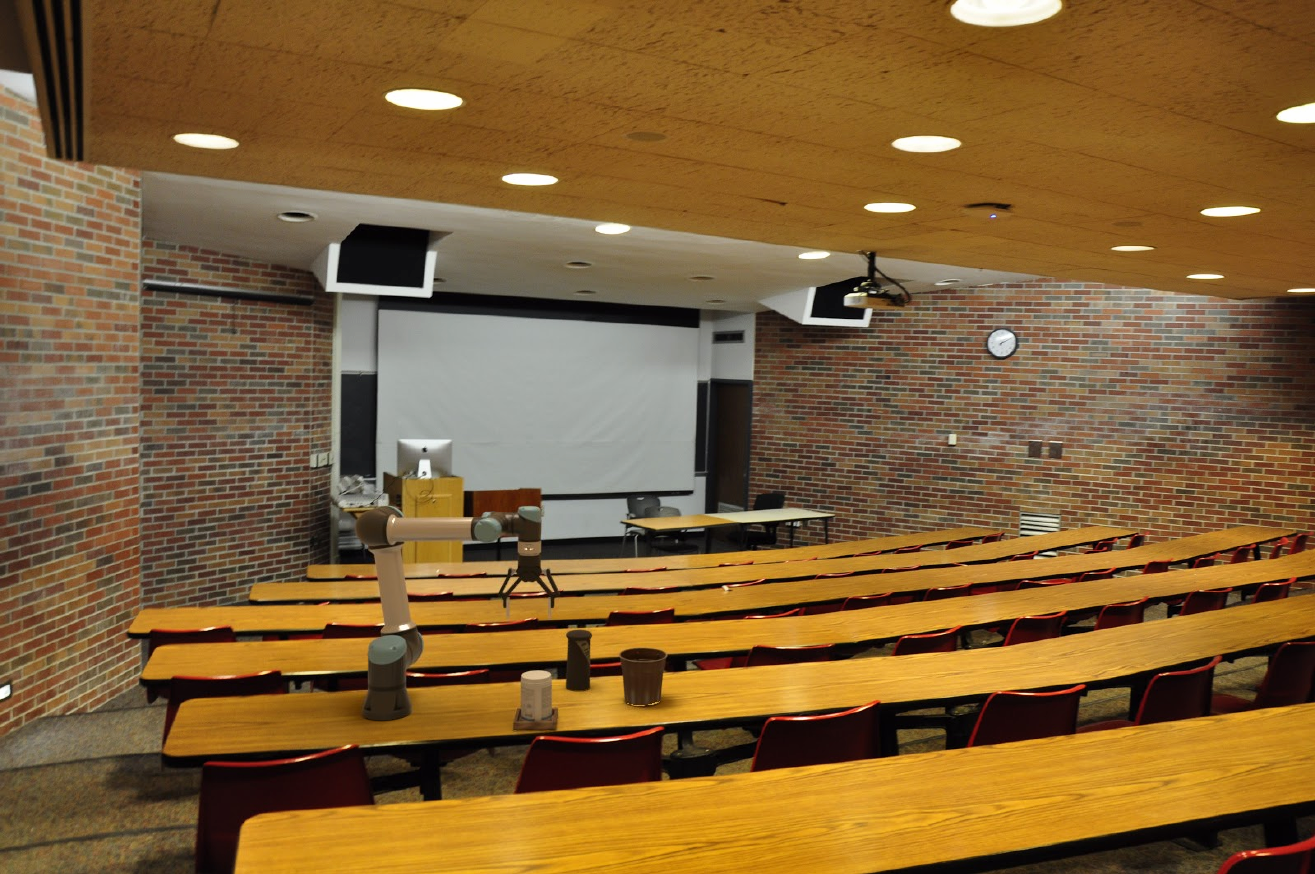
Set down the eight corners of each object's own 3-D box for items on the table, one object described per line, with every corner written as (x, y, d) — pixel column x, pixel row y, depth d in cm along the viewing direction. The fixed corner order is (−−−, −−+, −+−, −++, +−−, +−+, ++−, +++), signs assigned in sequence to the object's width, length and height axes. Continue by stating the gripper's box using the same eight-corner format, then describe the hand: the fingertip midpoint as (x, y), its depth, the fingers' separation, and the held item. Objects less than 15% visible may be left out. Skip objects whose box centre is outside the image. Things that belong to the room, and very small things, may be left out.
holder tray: (513, 730, 281) (513, 722, 281) (517, 716, 294) (517, 708, 294) (556, 730, 282) (556, 722, 282) (558, 715, 295) (558, 708, 295)
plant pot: (657, 712, 300) (658, 663, 299) (611, 706, 305) (611, 658, 304) (672, 697, 315) (673, 650, 315) (628, 691, 320) (628, 645, 320)
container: (586, 692, 319) (588, 635, 318) (561, 690, 320) (563, 633, 319) (593, 685, 327) (595, 629, 326) (568, 682, 329) (570, 627, 328)
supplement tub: (547, 714, 294) (548, 668, 294) (554, 724, 286) (555, 677, 285) (517, 717, 291) (518, 671, 290) (523, 728, 282) (524, 680, 282)
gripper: (489, 555, 299) (489, 620, 300) (567, 555, 301) (566, 620, 302) (492, 551, 307) (491, 615, 308) (567, 552, 308) (567, 615, 309)
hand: (528, 618), depth 305 cm, fingers open, 13 cm apart
